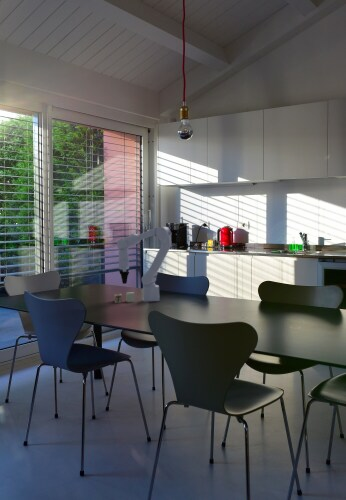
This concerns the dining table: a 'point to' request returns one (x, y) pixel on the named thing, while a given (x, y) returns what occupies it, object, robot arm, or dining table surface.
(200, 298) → the dining table surface
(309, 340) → the dining table surface
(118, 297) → the maple block
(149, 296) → the robot arm
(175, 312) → the dining table surface
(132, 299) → the sage block
